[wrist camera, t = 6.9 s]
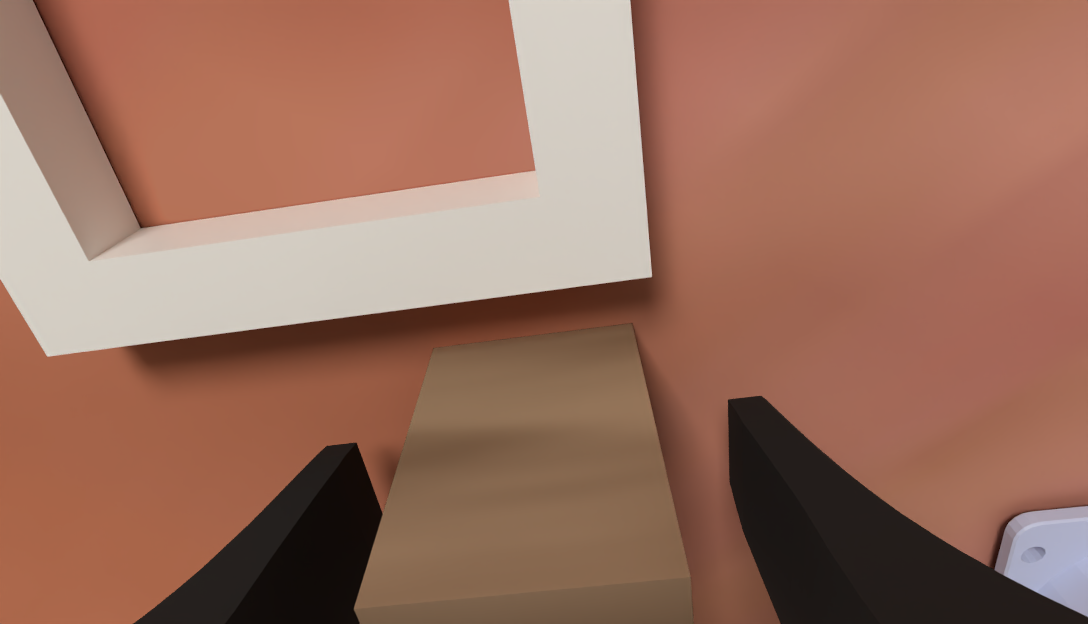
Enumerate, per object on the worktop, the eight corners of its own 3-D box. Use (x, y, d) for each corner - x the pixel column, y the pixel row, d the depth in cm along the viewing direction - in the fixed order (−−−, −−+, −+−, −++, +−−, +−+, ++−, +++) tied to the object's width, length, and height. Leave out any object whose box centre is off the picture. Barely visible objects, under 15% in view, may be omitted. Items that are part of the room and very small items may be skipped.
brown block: (646, 475, 15) (702, 766, 9) (473, 494, 15) (430, 786, 10) (631, 322, 13) (691, 577, 7) (433, 347, 13) (353, 609, 8)
